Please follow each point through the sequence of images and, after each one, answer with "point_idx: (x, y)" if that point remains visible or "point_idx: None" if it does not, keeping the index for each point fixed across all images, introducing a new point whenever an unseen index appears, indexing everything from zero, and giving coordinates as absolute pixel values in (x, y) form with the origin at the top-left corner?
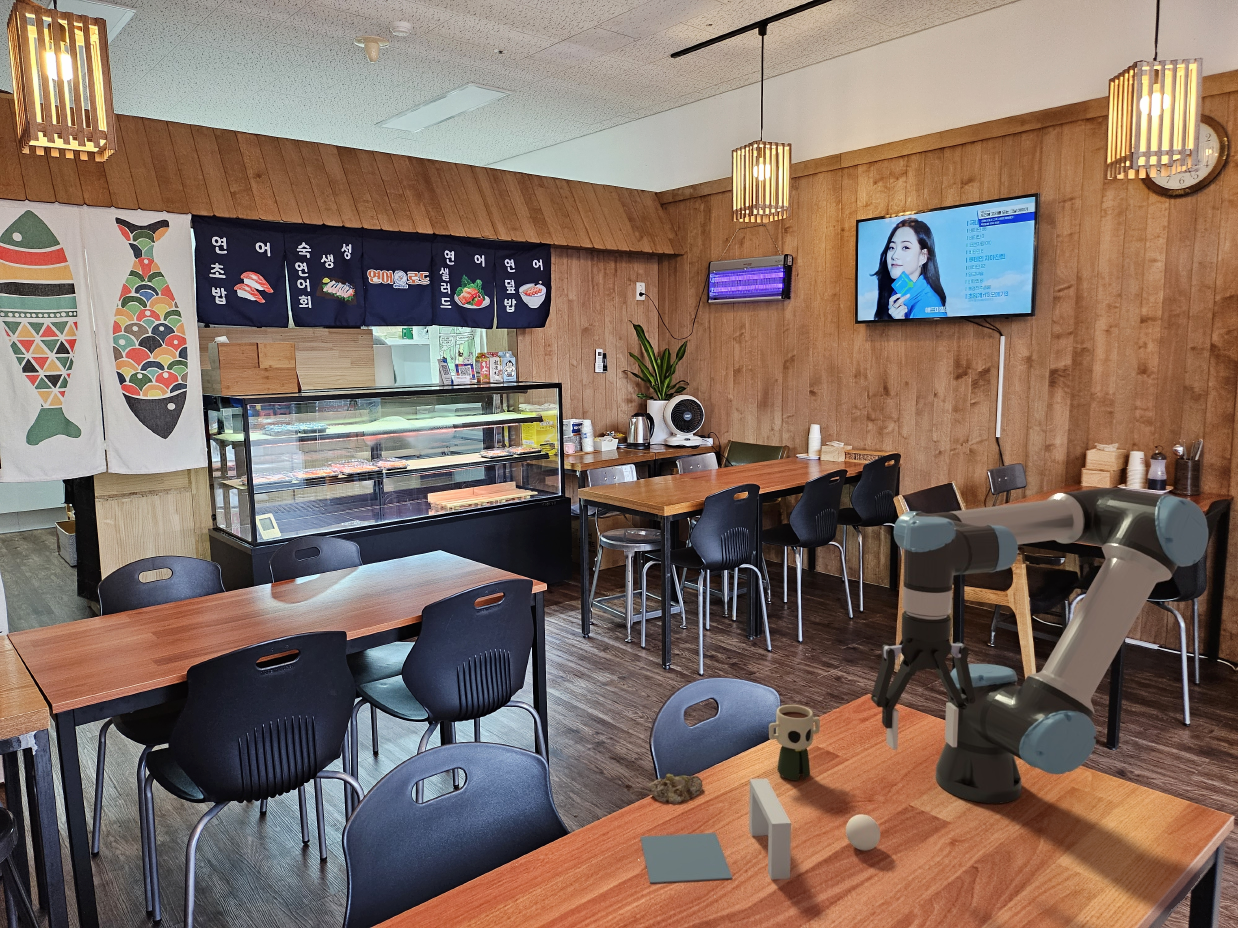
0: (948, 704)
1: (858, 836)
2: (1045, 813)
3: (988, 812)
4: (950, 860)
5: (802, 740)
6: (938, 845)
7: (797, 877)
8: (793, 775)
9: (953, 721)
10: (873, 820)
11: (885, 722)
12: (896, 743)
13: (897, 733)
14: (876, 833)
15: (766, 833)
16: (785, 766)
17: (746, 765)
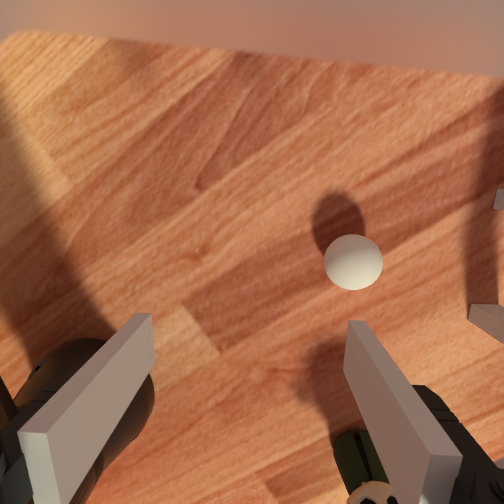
0: (58, 491)
1: (373, 242)
2: (33, 307)
3: (114, 320)
4: (227, 207)
5: (382, 499)
6: (226, 247)
7: (483, 190)
8: (369, 438)
9: (97, 375)
10: (342, 263)
11: (447, 409)
12: (359, 332)
13: (371, 356)
14: (342, 242)
15: (477, 304)
16: None
17: None
